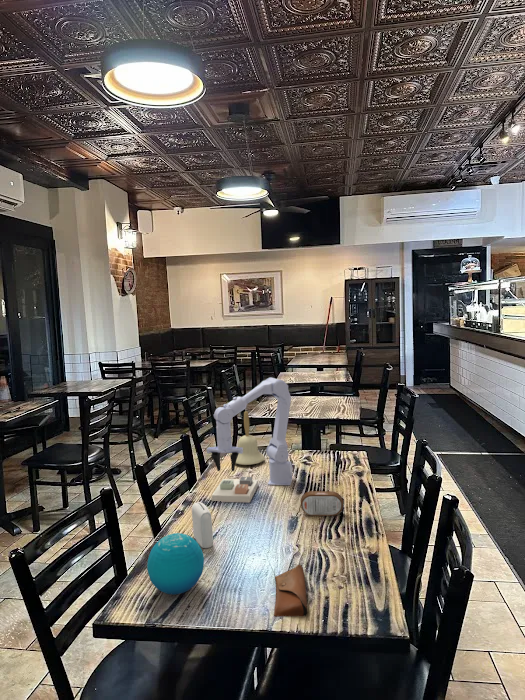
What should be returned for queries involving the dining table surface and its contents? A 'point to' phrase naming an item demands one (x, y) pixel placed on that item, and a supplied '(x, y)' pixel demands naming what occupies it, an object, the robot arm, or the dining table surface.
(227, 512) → the dining table surface
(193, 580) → the decorative orb
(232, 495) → the key panel
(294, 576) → the sunglasses case
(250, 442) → the handbell
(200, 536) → the photo printer
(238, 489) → the key two
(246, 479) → the key one
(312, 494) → the tin
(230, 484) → the key three
